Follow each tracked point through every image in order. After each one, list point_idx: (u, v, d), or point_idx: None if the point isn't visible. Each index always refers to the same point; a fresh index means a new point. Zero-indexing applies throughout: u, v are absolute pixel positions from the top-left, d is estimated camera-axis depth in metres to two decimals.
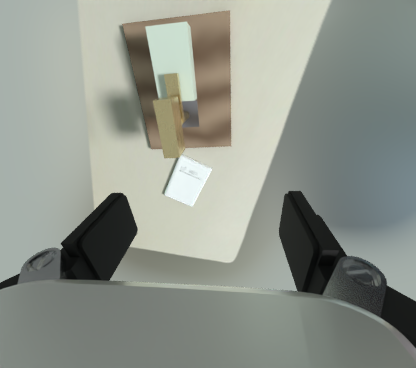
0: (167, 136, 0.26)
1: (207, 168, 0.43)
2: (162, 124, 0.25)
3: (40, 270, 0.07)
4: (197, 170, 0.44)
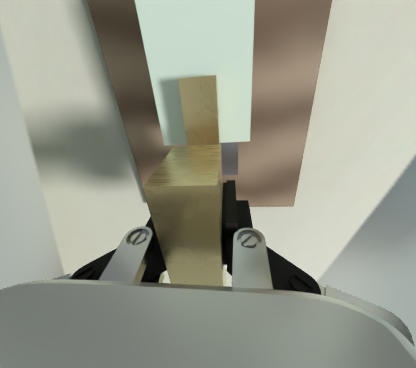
0: (191, 277, 0.08)
1: None
2: (178, 252, 0.07)
3: (132, 246, 0.07)
4: None
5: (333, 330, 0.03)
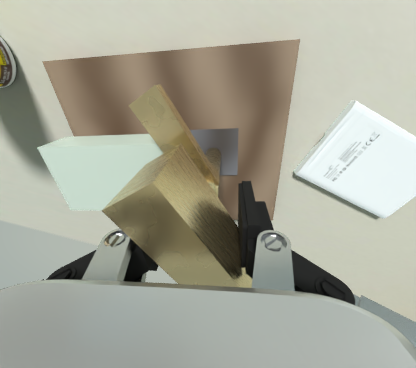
0: (197, 278, 0.08)
1: (350, 114, 0.16)
2: (169, 258, 0.07)
3: (112, 248, 0.07)
4: (348, 140, 0.17)
5: (333, 330, 0.03)
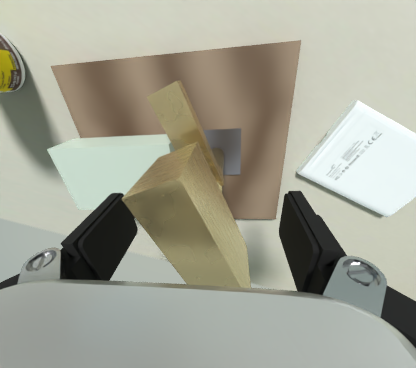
0: (201, 273, 0.08)
1: (351, 113, 0.17)
2: (178, 251, 0.08)
3: (40, 270, 0.07)
4: (350, 139, 0.18)
5: (333, 330, 0.03)
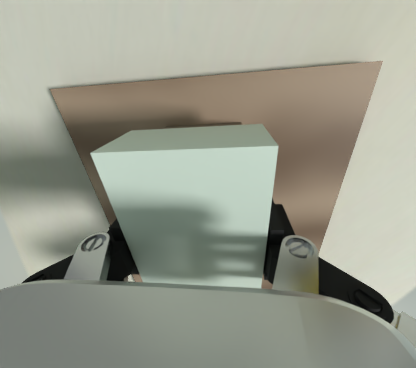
0: None
1: None
2: None
3: (90, 252, 0.07)
4: None
5: (333, 330, 0.03)
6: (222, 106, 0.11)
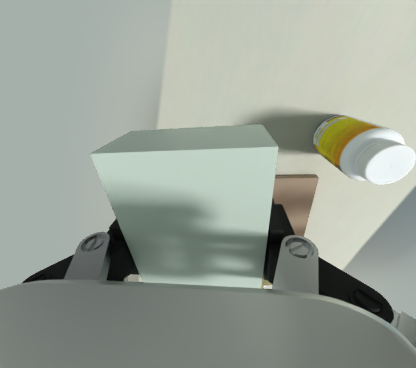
0: None
1: None
2: None
3: (90, 252, 0.07)
4: None
5: (333, 330, 0.03)
6: None
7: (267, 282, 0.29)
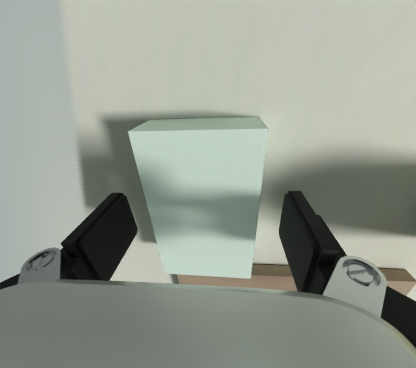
0: None
1: None
2: None
3: (40, 270, 0.07)
4: None
5: (333, 330, 0.03)
6: None
7: None
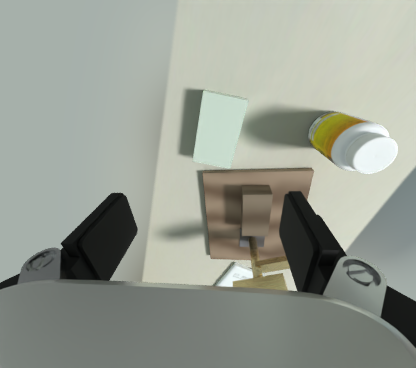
0: None
1: None
2: None
3: (40, 270, 0.07)
4: (250, 276, 0.44)
5: (333, 330, 0.03)
6: (263, 180, 0.31)
7: (266, 269, 0.31)
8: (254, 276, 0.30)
